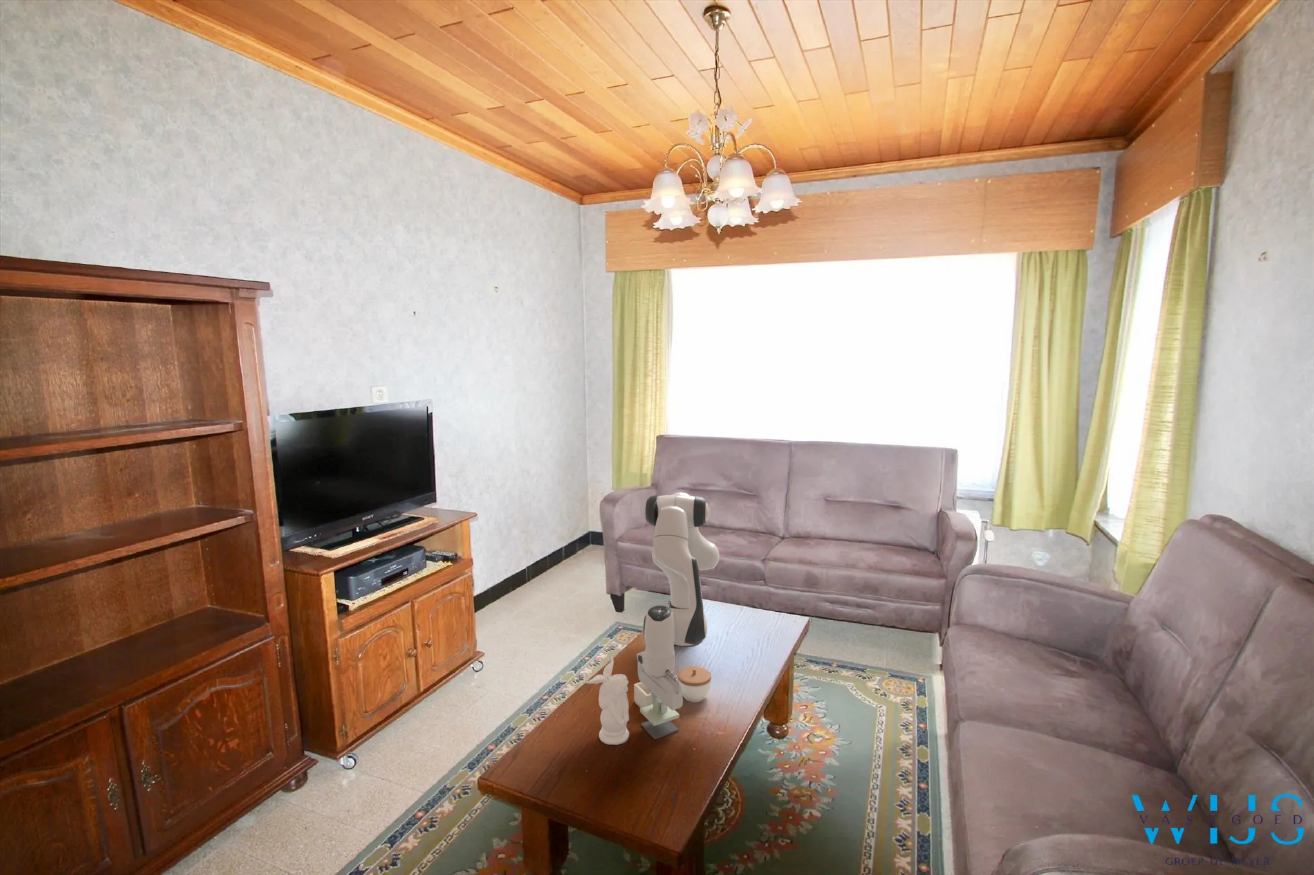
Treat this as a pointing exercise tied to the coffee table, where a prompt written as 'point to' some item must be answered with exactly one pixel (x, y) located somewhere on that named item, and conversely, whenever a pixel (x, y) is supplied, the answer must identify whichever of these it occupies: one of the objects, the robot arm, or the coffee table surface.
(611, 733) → the white tall figurine
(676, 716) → the lid
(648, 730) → the mat
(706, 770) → the coffee table surface
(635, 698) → the cream box
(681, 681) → the lidded jar
